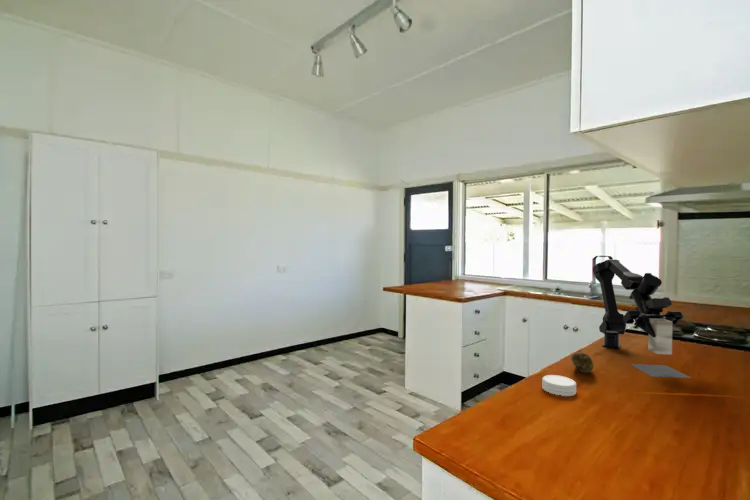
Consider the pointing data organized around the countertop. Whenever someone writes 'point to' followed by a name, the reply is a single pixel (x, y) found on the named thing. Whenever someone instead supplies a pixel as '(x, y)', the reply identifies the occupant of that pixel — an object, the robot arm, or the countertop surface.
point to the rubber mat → (660, 371)
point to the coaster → (559, 385)
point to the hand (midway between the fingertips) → (662, 337)
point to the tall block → (660, 336)
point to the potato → (582, 362)
